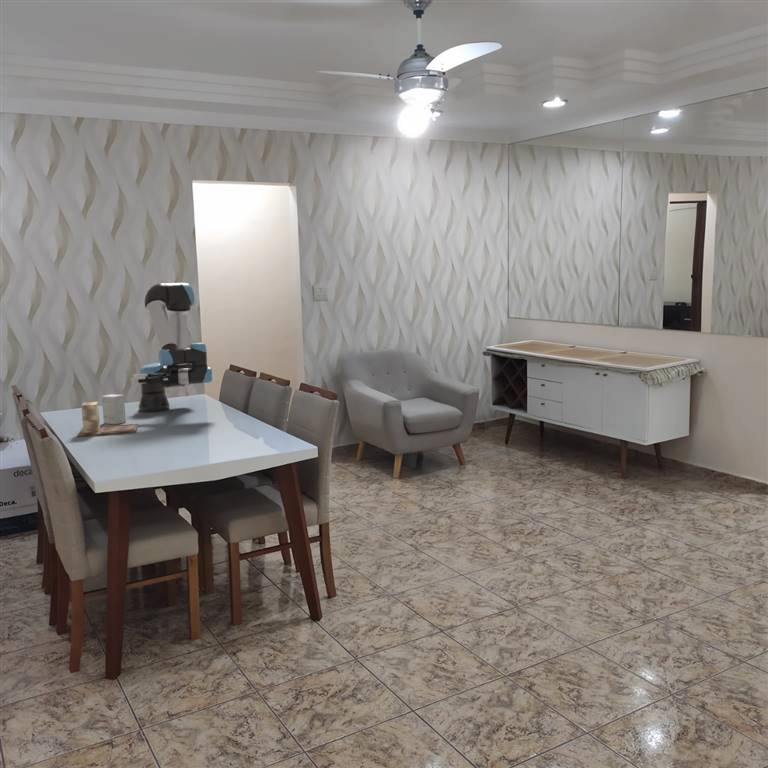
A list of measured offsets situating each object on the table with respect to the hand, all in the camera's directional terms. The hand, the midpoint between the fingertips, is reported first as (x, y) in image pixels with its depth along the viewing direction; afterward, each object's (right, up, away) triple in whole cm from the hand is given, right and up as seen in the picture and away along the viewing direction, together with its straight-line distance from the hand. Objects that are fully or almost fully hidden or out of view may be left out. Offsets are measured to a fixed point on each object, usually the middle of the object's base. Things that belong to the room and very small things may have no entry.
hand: (132, 379), depth 352 cm
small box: (-8, -21, +1) cm, 22 cm away
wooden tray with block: (-4, -23, -19) cm, 30 cm away
